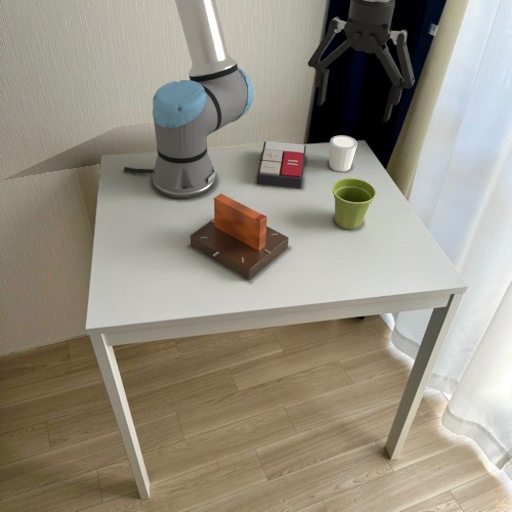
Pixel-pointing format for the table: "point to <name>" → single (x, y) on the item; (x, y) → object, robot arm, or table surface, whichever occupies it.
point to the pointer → (240, 221)
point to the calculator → (281, 164)
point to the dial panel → (238, 249)
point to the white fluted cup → (342, 152)
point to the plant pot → (352, 201)
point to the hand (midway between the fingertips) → (353, 110)
